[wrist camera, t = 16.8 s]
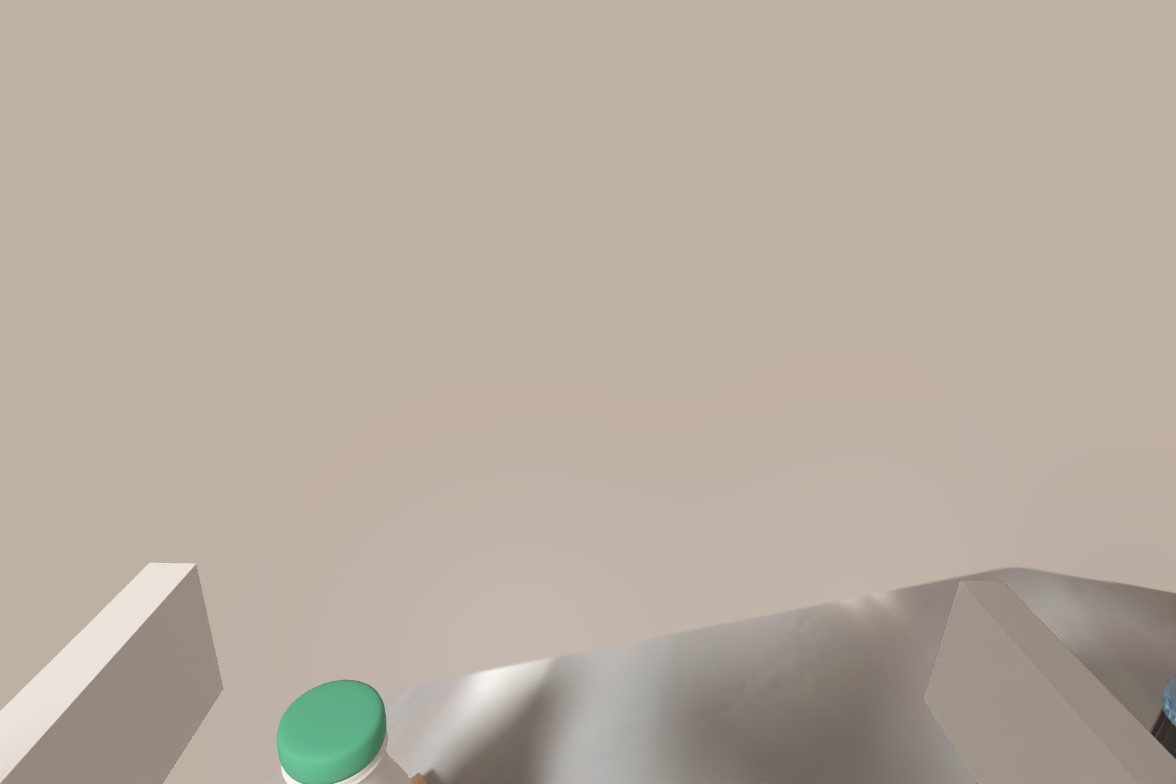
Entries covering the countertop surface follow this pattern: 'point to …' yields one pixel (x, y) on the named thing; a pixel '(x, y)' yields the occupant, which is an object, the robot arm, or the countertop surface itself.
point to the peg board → (418, 779)
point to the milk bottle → (337, 737)
